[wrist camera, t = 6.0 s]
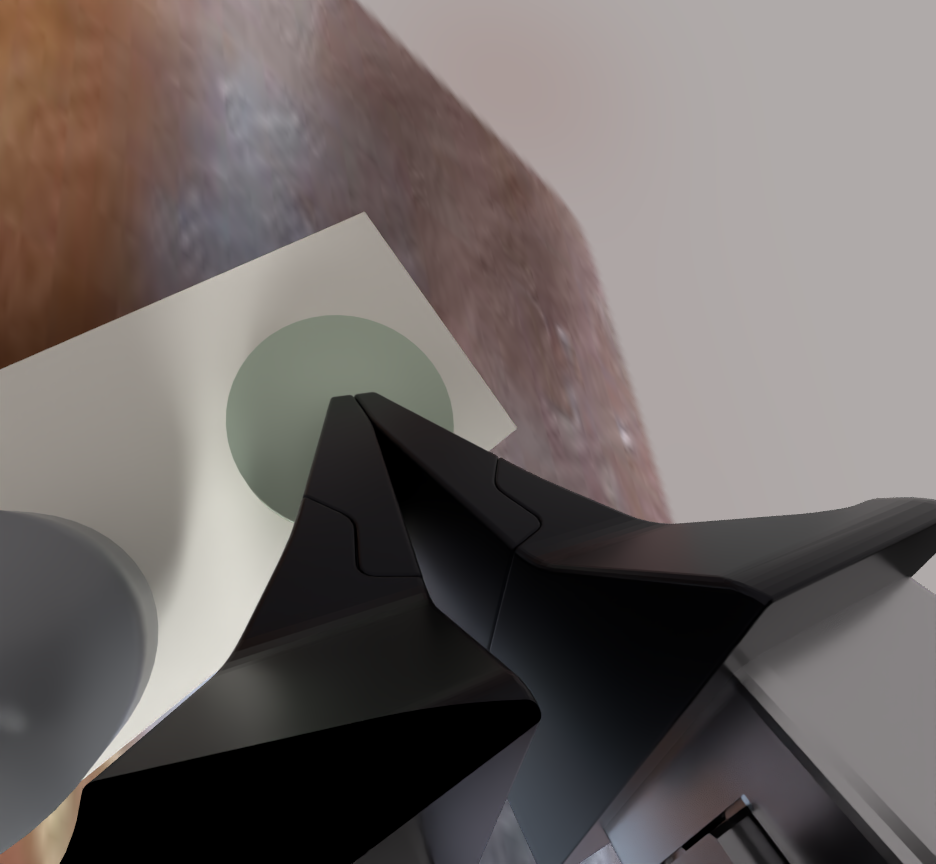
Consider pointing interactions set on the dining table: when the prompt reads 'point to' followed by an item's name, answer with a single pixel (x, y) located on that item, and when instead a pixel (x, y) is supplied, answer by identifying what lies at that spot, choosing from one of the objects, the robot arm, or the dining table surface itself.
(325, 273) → the button bar
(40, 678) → the grey button
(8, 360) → the dining table surface
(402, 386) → the sage button
